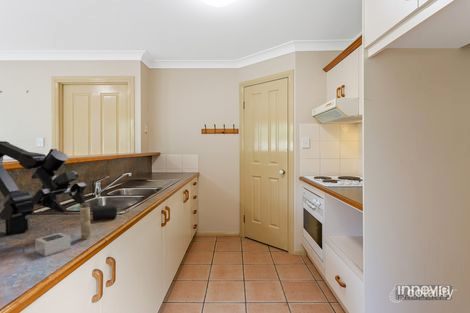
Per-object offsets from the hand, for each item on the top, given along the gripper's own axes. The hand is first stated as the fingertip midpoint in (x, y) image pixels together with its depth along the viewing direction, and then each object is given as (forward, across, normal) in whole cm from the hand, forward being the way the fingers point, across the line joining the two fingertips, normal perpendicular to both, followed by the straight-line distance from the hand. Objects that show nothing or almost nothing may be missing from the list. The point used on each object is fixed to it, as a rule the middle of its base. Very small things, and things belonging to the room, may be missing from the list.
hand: (74, 208), depth 91 cm
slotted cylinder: (+11, 0, +5) cm, 12 cm away
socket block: (+9, -11, +6) cm, 16 cm away
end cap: (+3, +22, +12) cm, 26 cm away
